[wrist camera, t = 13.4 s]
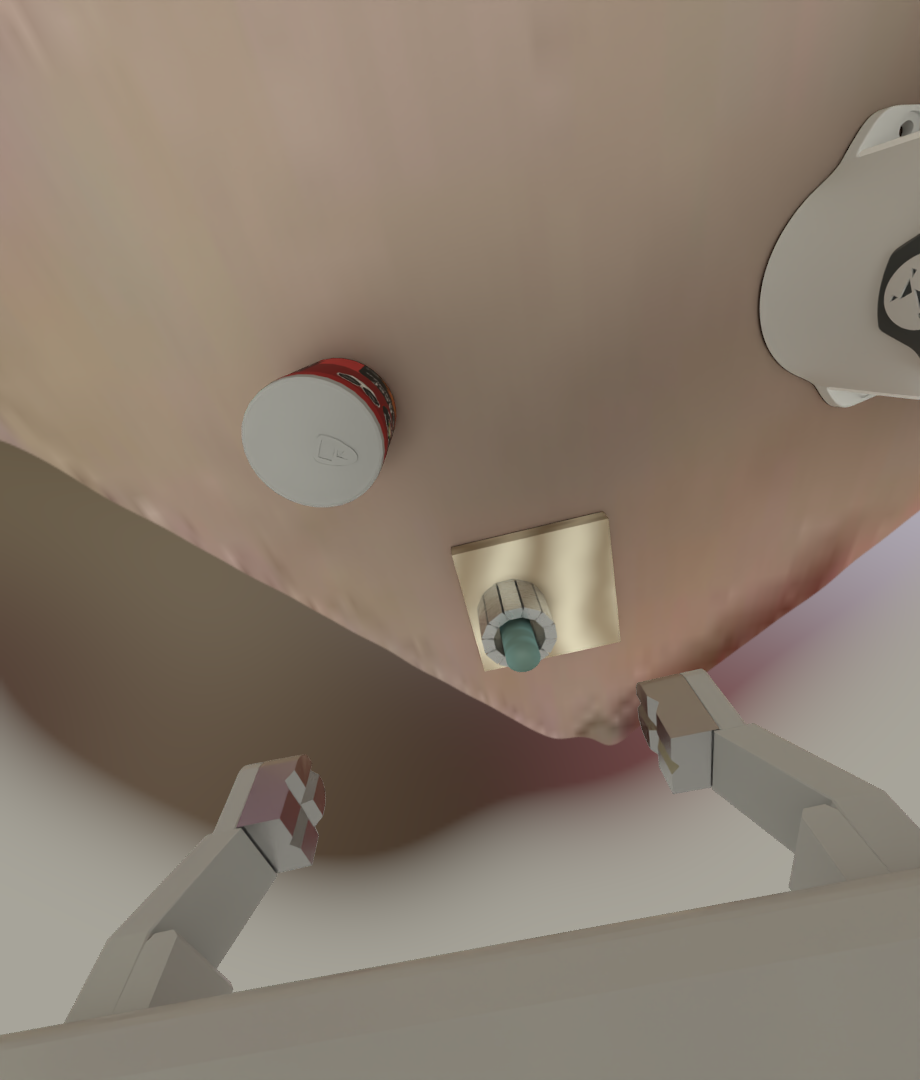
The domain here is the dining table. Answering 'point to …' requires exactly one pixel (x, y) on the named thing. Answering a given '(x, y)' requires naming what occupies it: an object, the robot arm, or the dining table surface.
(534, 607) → the grey segmented ring
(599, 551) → the green peg on board
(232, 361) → the dining table surface
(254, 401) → the canned food
